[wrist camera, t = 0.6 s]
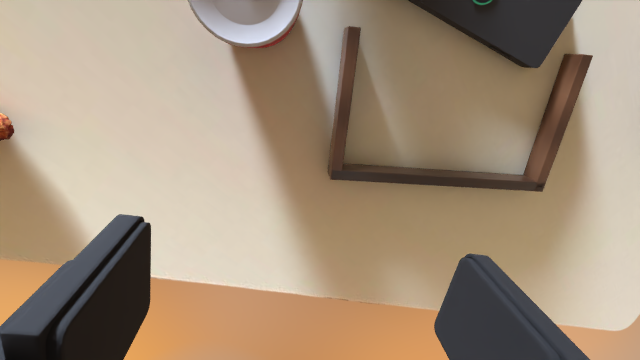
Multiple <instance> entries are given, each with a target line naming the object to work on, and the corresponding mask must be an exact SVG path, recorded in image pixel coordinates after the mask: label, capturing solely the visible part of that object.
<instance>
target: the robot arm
mask: <svg viewBox="0 0 640 360" xmlns="http://www.w3.org/2000/svg"><path fill="white" fill-rule="evenodd" d="M150 265H151V225H150V223H146V222H144V218H143V217H140V216H131V215H122V214H119V215H118V216H116V217H115V218H114V219H113V220H112V221H111V222H110V223H109V224H108V225H107V226H106V227H105V228H104V229H103V230H102V231H101V232H100V233H99V234H98V235H97V236H96V237H95V238H94V239H93V240H92V241H91V242H90V243H89V244H88V245H87V246H86V247H85V248H84V249H83V250H82V251H81V252H80V253H79V254H78V255H77V256H76V257H75V258H74V259H73V260H70V261H68V262H66V263H65V264H64V265H62V266H61V267H60V268H59V269H58V270H57V271H56V272H55V273H54V274H53V275H52V276H51V277H50V278H49V279H48V280H47V281H46V282H45V283H44V284H43V285H42V286H41V287H40V288H39V289H38V290H37V291H36V292H35V293H34V294H33V295H32V296H31V297H30V298H29V299H28V300H27V301H26V302H25V303H24V304H23V305H22V306H20V308H19V309H17V310H16V311H15V312H14V313H13V314H12V315H11V316H10V317H9V318H8V319H7V320H6V321H5V322H4V323H3V324H2V325H1V326H0V360H123V359H124V357H125V356H126V354H127V352H128V350H129V348H130V346H131V344H132V342H133V340H134V338H135V336H136V334H137V332H138V330H139V328H140V326H141V324H142V323H143V321H144V319H145V317H146V315H147V312H148V309H149V305H150ZM434 326H435V333H436V335H437V337H438V339H439V341H440V342H441V345H442V347H443V348H444V350H445V352H446V354H447V356H448V358H449V360H590V359H589V358H588V357H587V356H586V355H585V354H584V353H583V352H582V351H581V350H580V349H579V348H578V347H577V346H576V345H575V344H574V343H573V342H572V341H571V340H570V339H569V338H568V337H567V336H566V335H565V334H564V333H563V332H562V331H561V330H560V329H559V328H558V327H557V326H556V325H555V324H554V323H553V322H552V321H551V319H550V318H549V317H548V316H547V315H546V314H545V313H544V312H543V311H542V310H541V309H540V308H539V307H538V306H537V305H536V304H535V303H534V302H533V301H532V300H531V299H530V298H529V297H528V296H527V295H526V294H525V293H524V292H523V291H522V290H521V289H520V288H519V287H518V286H517V285H516V284H515V283H514V282H513V281H512V280H511V279H510V278H509V277H508V276H507V275H506V274H505V273H504V272H503V271H502V270H501V269H500V268H499V267H498V266H497V265H496V264H495V262H494V261H493V260H492V259H491V258H489V257H488V256H485V255H477V254H467V255H466V256H465V257H464V258H462V259H461V260H460V261H459V263H458V266H457V268H456V271H455V273H454V276H453V278H452V281H451V283H450V286H449V288H448V291H447V293H446V296H445V298H444V301H443V303H442V306H441V308H440V311H439V313H438V316H437V318H436V321H435V325H434Z"/></svg>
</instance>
